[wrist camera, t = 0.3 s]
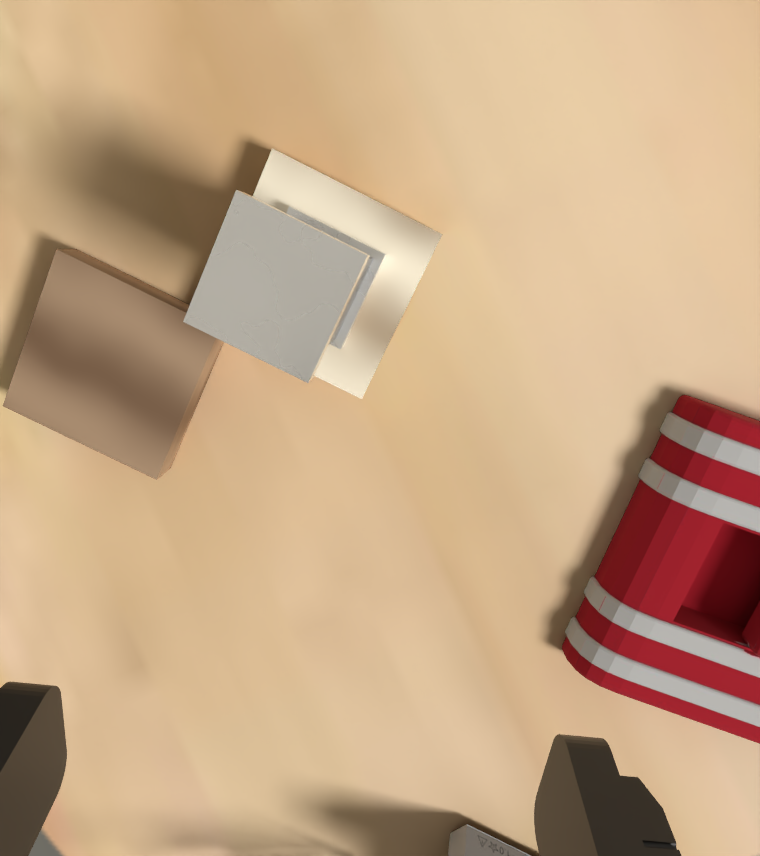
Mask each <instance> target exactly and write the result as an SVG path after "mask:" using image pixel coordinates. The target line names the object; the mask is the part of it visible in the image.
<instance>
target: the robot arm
mask: <svg viewBox="0 0 760 856" xmlns="http://www.w3.org/2000/svg"><path fill="white" fill-rule="evenodd" d="M66 759H67V749H66V739H65V729H64V719H63V709H62V700H61V692H60V689H59V688H58V687H57V686H50V685H40V684H29V683H18V682H7V683H6V684H4V685H3V686H2V687H1V688H0V856H28V855H29V853H30V851H31V849H32V847H33V845H34V842H35V840H36V838H37V836H38V834H39V832H40V830H41V828H42V826H43V824H44V822H45V820H46V817H47V815H48V813H49V811H50V809H51V807H52V805H53V803H54V801H55V799H56V796H57V794H58V792H59V789H60V786H61V783H62V780H63V776H64V772H65V767H66ZM534 823H535V834H536V840H537V845H538V850H539V855H540V856H681V854H680V851H679V850H677V849H676V841H675V839H674V836H673V833H672V831H671V828H670V826H669V823H668V821H667V818H666V816H665V813H664V811H663V808H662V807H661V806H660V804H659V803H658V802H657V801H656V799H655V798H654V797H653V796H652V794H651V793H650V792H649V791H648V789H647V788H646V787H645V785H644V784H643V783H642V782H641V780H640V779H639V778H638V777H627V776H620V775H619V772H618V769H617V766H616V763H615V761H614V758H613V755H612V752H611V749H610V747H609V745H608V743H607V742H606V741H605V740H604V739H602V738H593V737H582V736H571V735H560V734H559V735H557V736H556V737H555V738H554V741H553V744H552V747H551V750H550V753H549V756H548V760H547V763H546V766H545V769H544V773H543V776H542V779H541V782H540V786H539V789H538V792H537V796H536V801H535V811H534Z"/></svg>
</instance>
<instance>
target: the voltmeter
mask: <svg viewBox="0 0 760 856" xmlns="http://www.w3.org/2000/svg"><path fill="white" fill-rule="evenodd" d="M448 856H531V855H529V854H527V853H525V852H523V851H520V850H518V849H516V848H514V847H512V846H510V845H508V844H506V843H504V842H502V841H500V840H498V839H496V838H494V837H492V836H490V835H488V834H486V833H484V832H482V831H480V830H478V829H476V828H474V827H472V826H470V825H468V824H466V825H464V826H463V827H461V828H459V829H457V830H455V831H453V832H451V833H450V840H449V850H448Z"/></svg>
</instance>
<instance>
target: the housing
mask: <svg viewBox="0 0 760 856" xmlns="http://www.w3.org/2000/svg"><path fill="white" fill-rule="evenodd" d="M385 257H386V254H385V253H383V252H381V251H379V250H377V249H375V248H373V247H371V246H369V245H367V244H365V243H363V242H361V241H359V240H357V239H355V238H353V237H351V236H349V235H347V234H345V233H343V232H341V231H339V230H337V229H335V228H333V227H331V226H329V225H327V224H325V223H323V222H321V221H319V220H317V219H315V218H313V217H311V216H309V215H307V214H305V213H303V212H301V211H299V210H297V209H295V208H293V207H290V206H289V208H288V210H287V212H286V213H284V212H282V211H280V210H278V209H277V208H275V207H273V206H271V205H269V204H267V203H265V202H263V201H261V200H259V199H257V198H255V197H253V196H251V195H249V194H247V193H245V192H242V191H239V190H236V192H235V194H234V197H233V199H232V201H231V204H230V206H229V209H228V211H227V214H226V216H225V219H224V221H223V224H222V226H221V229H220V231H219V234H218V236H217V239H216V241H215V244H214V246H213V249H212V251H211V254H210V256H209V259H208V261H207V264H206V266H205V268H204V271H203V273H202V276H201V278H200V281H199V283H198V286H197V288H196V291H195V293H194V296H193V298H192V301H191V303H190V306H189V308H188V311H187V313H186V316H185V318H184V321H183V322H185V323H187V324H189V325H191V326H193V327H195V328H197V329H199V330H201V331H203V332H205V333H207V334H209V335H211V336H213V337H215V338H217V339H219V340H221V341H223V342H225V343H227V344H229V345H232V346H234V347H236V348H238V349H240V350H242V351H244V352H246V353H248V354H250V355H252V356H254V357H256V358H258V359H260V360H262V361H264V362H266V363H268V364H270V365H272V366H274V367H276V368H278V369H280V370H282V371H285V372H287V373H289V374H291V375H293V376H295V377H297V378H299V379H301V380H303V381H305V382H307V383H309V382H310V381H311V380H312V379H313V377H314V375H315V373H316V370H317V368H318V366H319V364H320V362H321V360H322V357H323V355H324V353H325V351H326V349H327V347H328V345H332V346H335V347H337V348H339V349H341V348H342V347H343V346H344V343H345V341H346V339H347V337H348V335H349V333H350V331H351V329H352V326H353V324H354V322H355V320H356V318H357V316H358V314H359V312H360V310H361V307H362V305H363V303H364V301H365V299H366V297H367V295H368V293H369V290H370V288H371V286H372V284H373V282H374V280H375V278H376V276H377V274H378V271H379V269H380V267H381V265H382V263H383V261H384V259H385Z"/></svg>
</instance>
